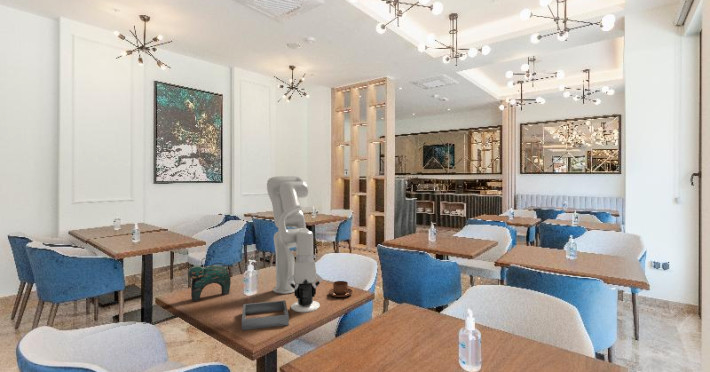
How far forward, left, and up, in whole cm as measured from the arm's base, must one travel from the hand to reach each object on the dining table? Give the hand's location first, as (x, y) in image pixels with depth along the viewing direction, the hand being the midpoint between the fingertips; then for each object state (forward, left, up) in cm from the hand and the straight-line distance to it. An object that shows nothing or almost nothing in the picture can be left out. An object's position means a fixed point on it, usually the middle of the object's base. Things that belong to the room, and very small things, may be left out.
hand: (305, 296), depth 164 cm
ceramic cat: (-27, -44, -5) cm, 52 cm away
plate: (0, 0, -5) cm, 5 cm away
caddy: (+9, -18, -5) cm, 21 cm away
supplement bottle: (0, 0, -3) cm, 3 cm away
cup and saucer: (-12, +19, -5) cm, 23 cm away
